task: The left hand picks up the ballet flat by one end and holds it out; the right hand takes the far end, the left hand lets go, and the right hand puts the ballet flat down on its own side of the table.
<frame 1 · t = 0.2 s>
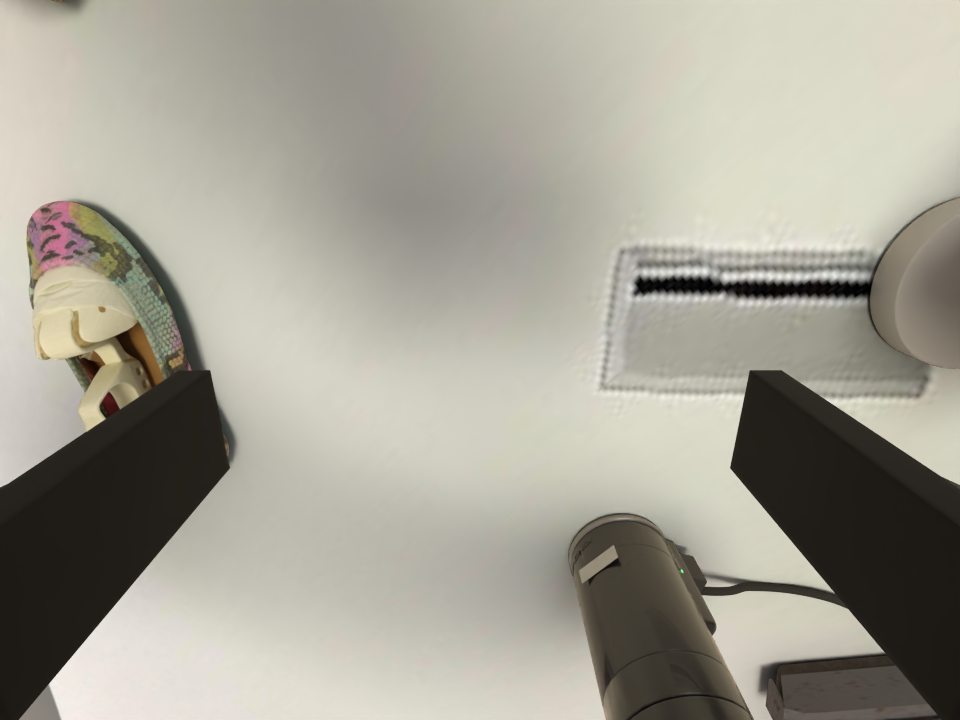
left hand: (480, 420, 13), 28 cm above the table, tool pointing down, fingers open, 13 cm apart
toy: (867, 716, 57), on the table
ballet flat: (154, 349, 41), on the table
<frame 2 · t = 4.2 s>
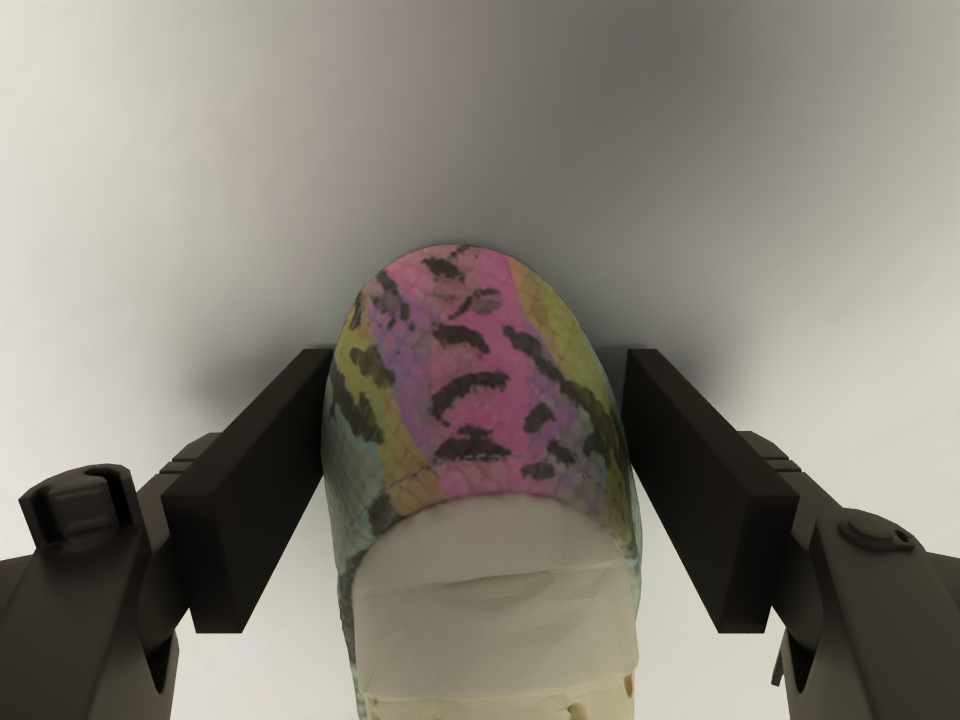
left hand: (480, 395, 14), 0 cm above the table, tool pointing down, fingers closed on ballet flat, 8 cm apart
ballet flat: (486, 600, 17), on the table, touching left hand
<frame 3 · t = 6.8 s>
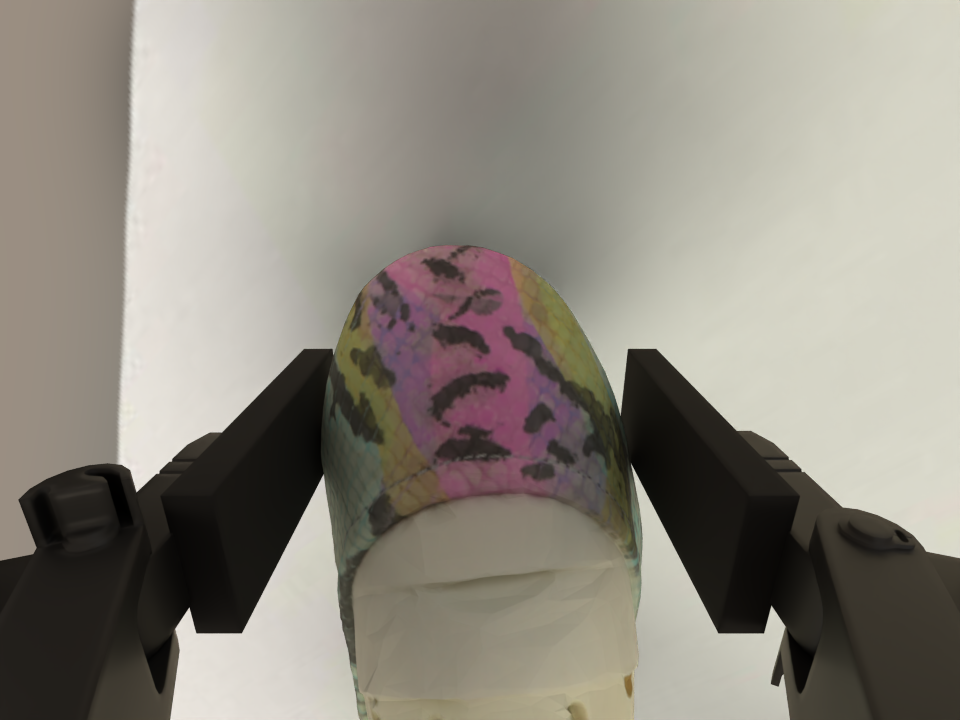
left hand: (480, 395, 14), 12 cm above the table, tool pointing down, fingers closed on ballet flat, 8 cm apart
ballet flat: (486, 601, 17), point 11 cm above the table, touching left hand
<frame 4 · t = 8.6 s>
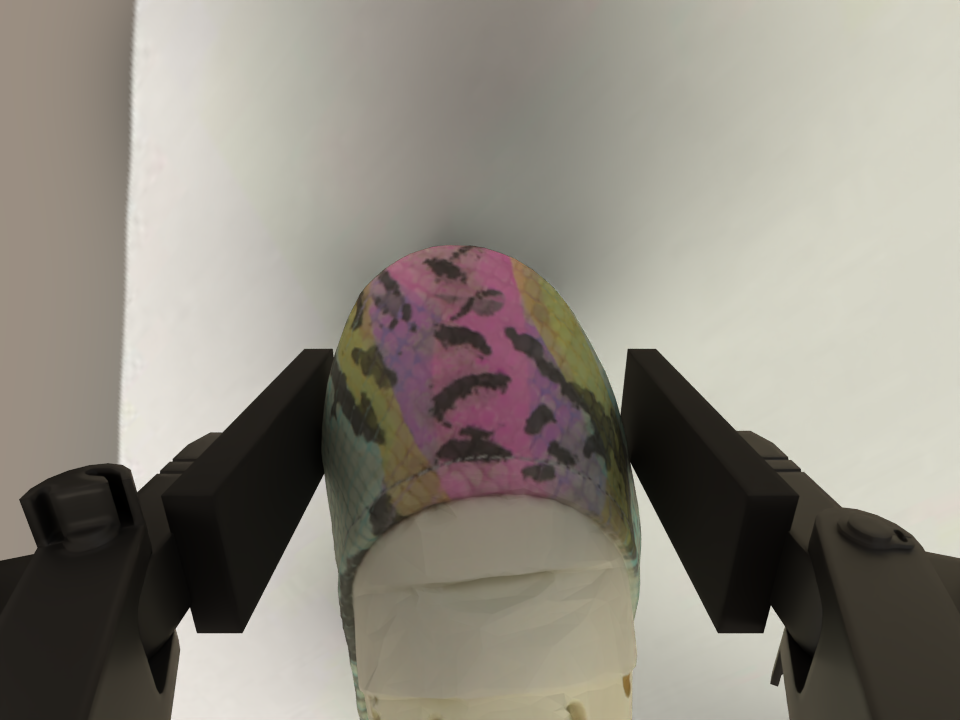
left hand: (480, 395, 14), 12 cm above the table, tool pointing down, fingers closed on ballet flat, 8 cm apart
ballet flat: (485, 598, 17), point 11 cm above the table, touching left hand, right hand
when the left hand's fingers open (12 cm above the table, at t = 9.7 s): ballet flat stays where it is, held by the right hand.
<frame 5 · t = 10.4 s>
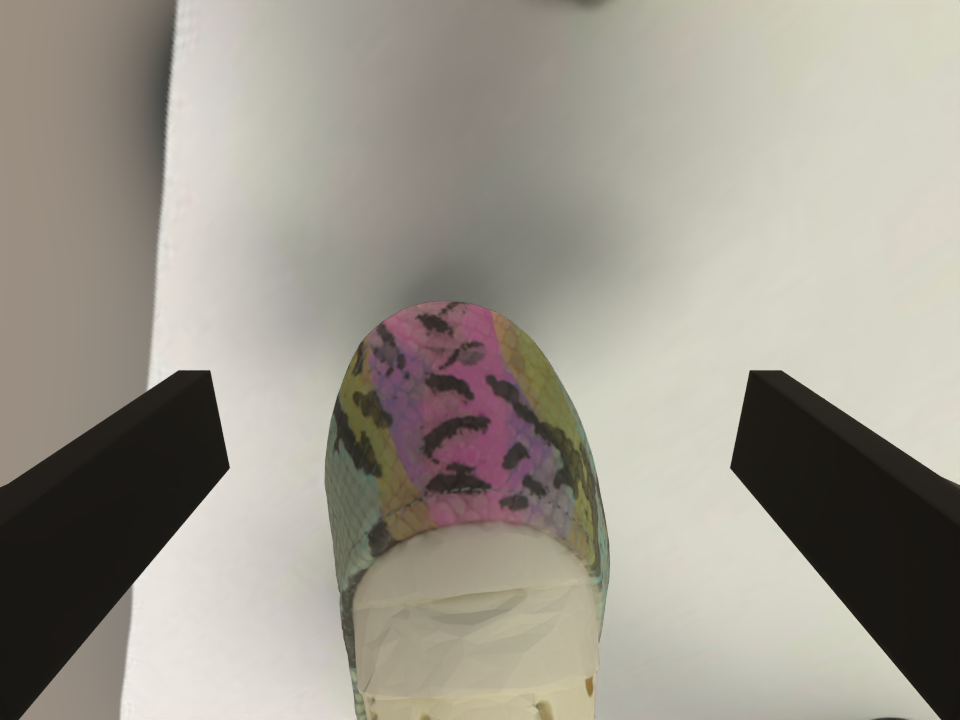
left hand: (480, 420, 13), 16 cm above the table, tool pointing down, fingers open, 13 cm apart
ballet flat: (472, 611, 19), point 13 cm above the table, touching right hand
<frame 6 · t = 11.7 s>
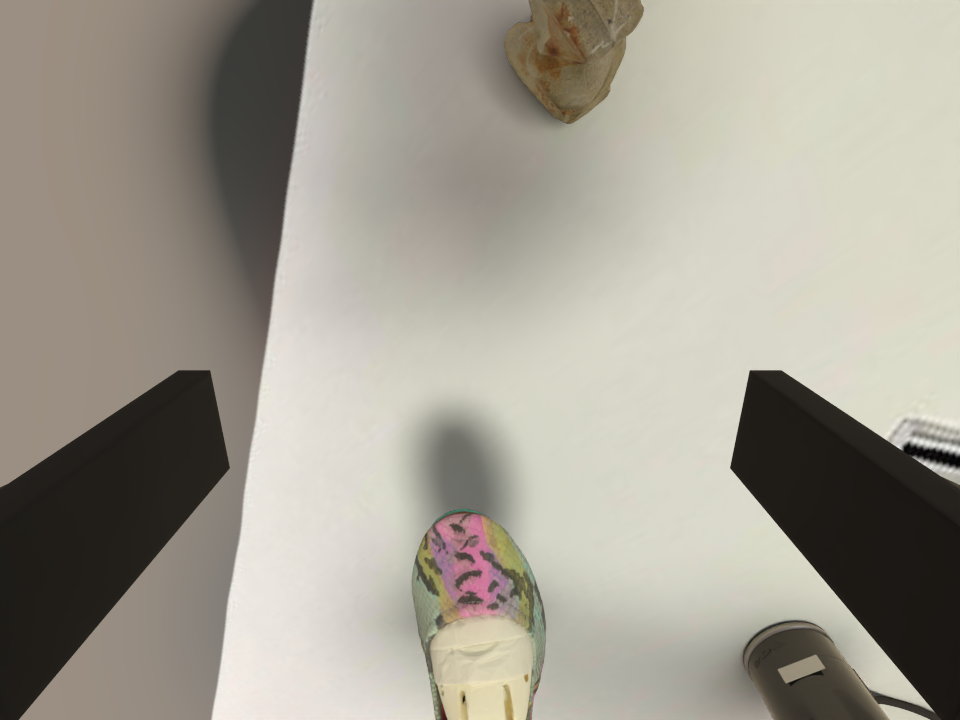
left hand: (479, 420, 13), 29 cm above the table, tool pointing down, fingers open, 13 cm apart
ballet flat: (484, 639, 36), point 14 cm above the table, touching right hand
sculpture: (552, 71, 36), on the table
when the right hand's fingers open (5 cm above the table, at t = 15.1 s): ballet flat drops 1 cm, on the table.
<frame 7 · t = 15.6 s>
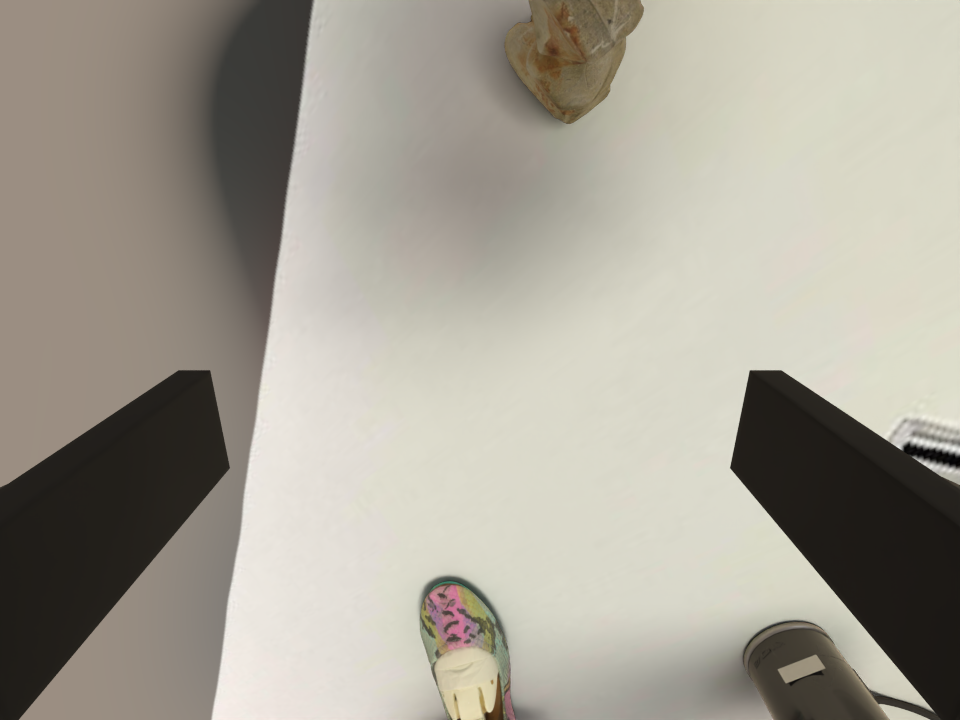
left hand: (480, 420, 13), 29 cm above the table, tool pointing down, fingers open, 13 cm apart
ballet flat: (474, 659, 56), on the table
sculpture: (552, 71, 36), on the table
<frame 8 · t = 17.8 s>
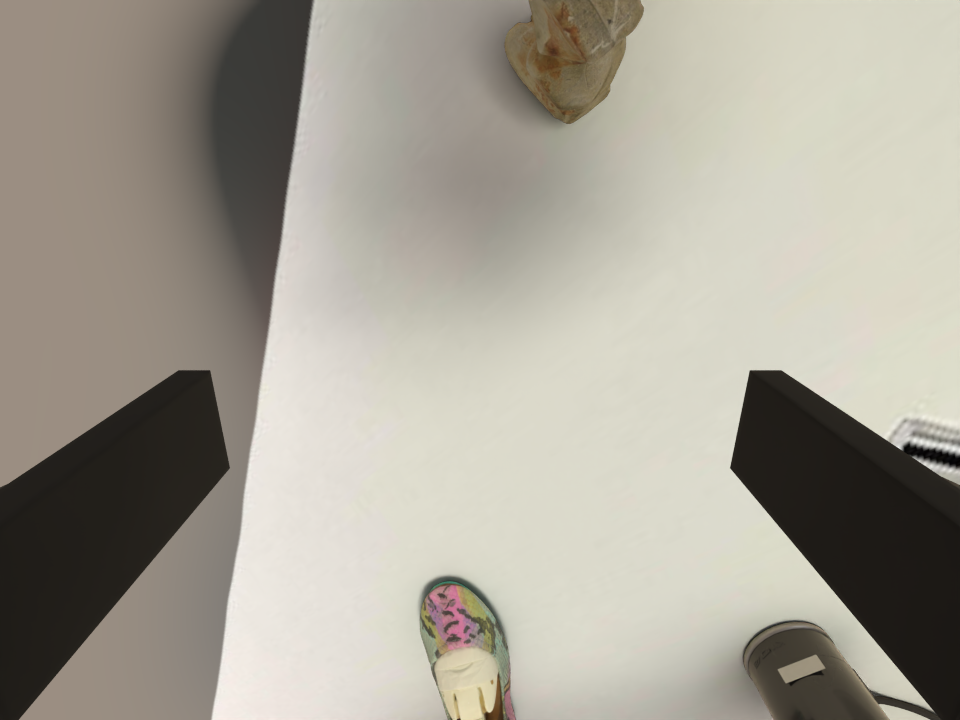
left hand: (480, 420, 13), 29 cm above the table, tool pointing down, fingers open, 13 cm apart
ballet flat: (474, 659, 56), on the table
sculpture: (552, 71, 36), on the table
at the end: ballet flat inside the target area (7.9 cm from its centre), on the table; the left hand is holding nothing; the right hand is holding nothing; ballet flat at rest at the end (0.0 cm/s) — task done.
